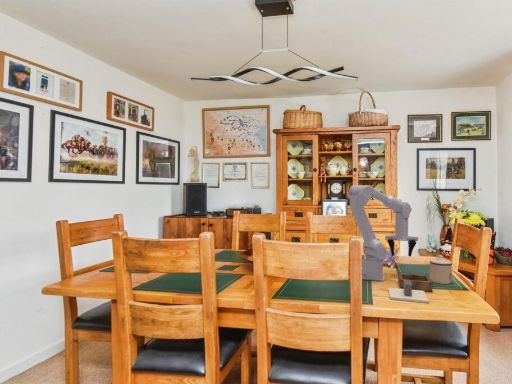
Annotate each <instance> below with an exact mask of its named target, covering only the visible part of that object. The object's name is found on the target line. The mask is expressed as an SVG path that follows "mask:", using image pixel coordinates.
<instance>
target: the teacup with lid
mask: <svg viewBox="0 0 512 384" xmlns="http://www.w3.org/2000/svg"><path fill="white" fill-rule="evenodd" d="M452 265H453V261H451V260H449V259H447V258H445V257H444V255H441V254H440V255H439V254H438V256H437V257H435V258H432V259H430V260H429V278H430V279H431V281H432V282H433V283H434V284H441V285H446V284H447V285H449V284H451V283H452V277H453V275H452V274H453V273H452V270H453V269H452V268H453V267H452Z"/></svg>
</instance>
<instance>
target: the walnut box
mask: <svg viewBox="0 0 512 384" xmlns="http://www.w3.org/2000/svg"><path fill="white" fill-rule="evenodd" d="M397 279H398V281H397V283H398V286H399V289H404V280H405V281H411V284H412V290H420V291H424V292H425V293H433V287H434V286H433V283H434V282H432V281H431V279H430V275H425V274H416V273H415V274H413V273H401V272H398V278H397Z"/></svg>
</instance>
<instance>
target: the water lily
mask: <svg viewBox="0 0 512 384" xmlns="http://www.w3.org/2000/svg"><path fill="white" fill-rule="evenodd" d="M399 251H400V246H399V247H397V248H396V249H395V250H394V256H392V254H391V249H390V246H388V250H387V256H386V257H385V259H384V260H383V265H384V264H387V265H388V266H389V267H390V268H391V269H393V268H394V266H398V264H397V262H396V261H395V260H398V259H399V258H400V257H399V255H398V253H399Z"/></svg>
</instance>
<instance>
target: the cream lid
mask: <svg viewBox="0 0 512 384" xmlns="http://www.w3.org/2000/svg"><path fill="white" fill-rule="evenodd" d="M388 295H389V300H393V301H394V300H395V301H405V302H413V303H423V304H430V300H429V299H428V296H427V295H426V292H424V291H420V290H412V284H411V281H405V280H404V289H400V288H398V287H397V288H396V287H388Z"/></svg>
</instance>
